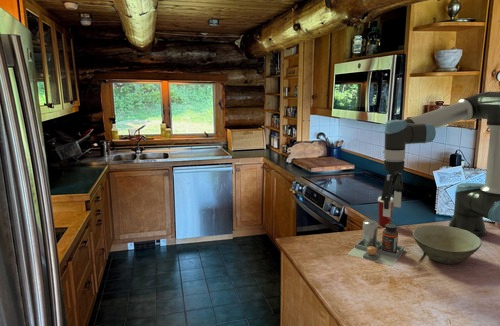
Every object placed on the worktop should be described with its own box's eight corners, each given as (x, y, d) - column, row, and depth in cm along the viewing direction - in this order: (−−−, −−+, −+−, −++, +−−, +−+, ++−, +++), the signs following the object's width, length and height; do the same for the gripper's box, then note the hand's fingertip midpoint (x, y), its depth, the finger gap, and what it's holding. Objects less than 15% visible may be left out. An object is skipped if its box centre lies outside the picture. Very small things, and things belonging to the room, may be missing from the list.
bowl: (453, 279, 129) (455, 253, 127) (398, 253, 150) (399, 231, 148) (492, 263, 139) (495, 239, 137) (436, 242, 160) (437, 220, 158)
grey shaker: (378, 246, 155) (379, 221, 153) (373, 251, 150) (375, 225, 148) (364, 242, 159) (365, 218, 156) (359, 247, 154) (360, 222, 152)
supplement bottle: (379, 251, 149) (380, 225, 147) (385, 247, 154) (386, 221, 151) (393, 256, 145) (395, 229, 143) (399, 251, 150) (400, 225, 147)
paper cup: (394, 228, 177) (395, 200, 174) (377, 227, 179) (378, 199, 176) (391, 222, 185) (392, 195, 182) (375, 221, 186) (376, 195, 183)
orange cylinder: (377, 252, 145) (377, 247, 145) (374, 255, 142) (374, 250, 142) (368, 250, 147) (369, 245, 147) (365, 253, 144) (365, 248, 144)
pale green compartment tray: (405, 251, 151) (405, 246, 151) (392, 268, 137) (392, 262, 137) (363, 241, 162) (363, 236, 162) (346, 256, 148) (347, 250, 148)
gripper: (394, 154, 154) (392, 201, 158) (373, 164, 135) (371, 218, 139) (412, 155, 149) (410, 204, 153) (394, 166, 130) (392, 222, 134)
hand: (392, 211), depth 146 cm, fingers open, 13 cm apart
